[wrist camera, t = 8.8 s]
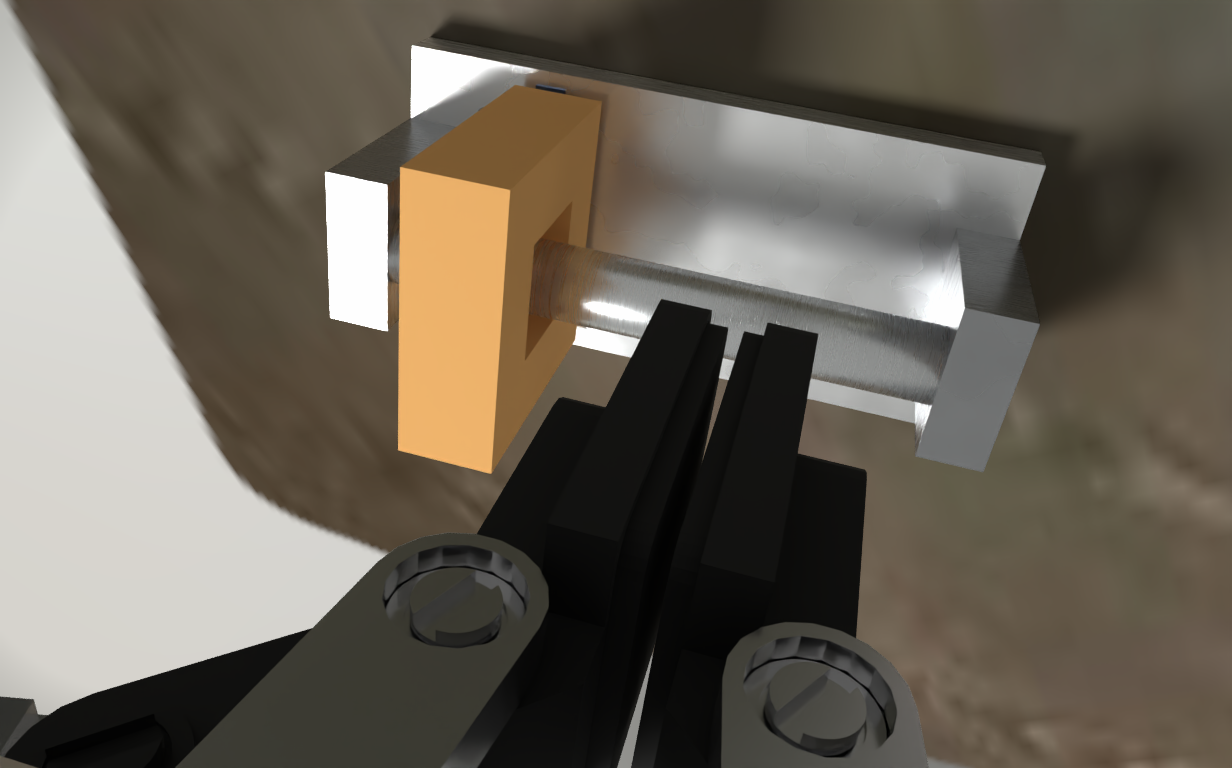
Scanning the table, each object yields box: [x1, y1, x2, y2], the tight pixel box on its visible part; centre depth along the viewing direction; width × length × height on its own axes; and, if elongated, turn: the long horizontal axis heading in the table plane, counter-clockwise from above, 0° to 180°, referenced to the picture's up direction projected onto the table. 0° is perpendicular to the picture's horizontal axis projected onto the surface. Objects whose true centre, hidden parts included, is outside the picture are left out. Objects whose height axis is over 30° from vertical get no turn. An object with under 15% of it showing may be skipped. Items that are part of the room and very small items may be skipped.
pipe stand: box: [326, 37, 1046, 472], centre depth 33 cm, size 21×10×8 cm, turn 83°
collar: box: [398, 85, 602, 474], centre depth 32 cm, size 3×9×9 cm, turn 173°
